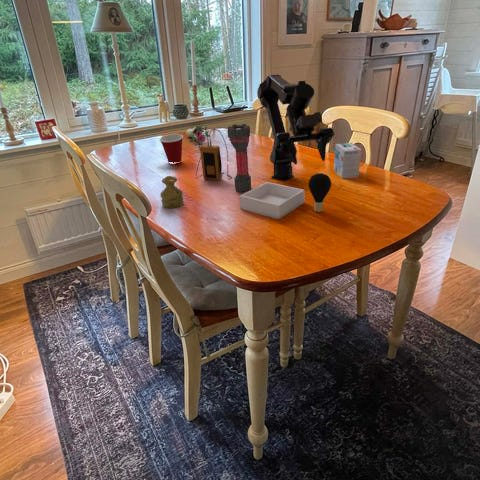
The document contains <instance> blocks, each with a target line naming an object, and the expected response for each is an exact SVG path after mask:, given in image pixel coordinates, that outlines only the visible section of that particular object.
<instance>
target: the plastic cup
mask: <svg viewBox="0 0 480 480" xmlns="http://www.w3.org/2000/svg"><path fill="white" fill-rule="evenodd" d="M183 138H184V135H183V134H179V133H171V134H166V135H163V136H161V137H160V138H158V141H159V142H160V143H161V145H162V147H163V151H164V153H165V157H166V158H167V163H169V162H173V163H174V162H180V161H181V162H182V155H183Z"/></svg>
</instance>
